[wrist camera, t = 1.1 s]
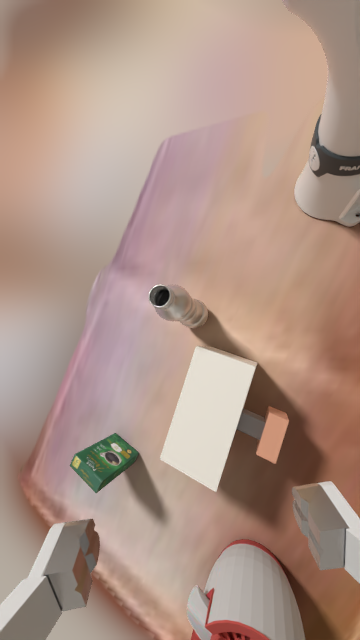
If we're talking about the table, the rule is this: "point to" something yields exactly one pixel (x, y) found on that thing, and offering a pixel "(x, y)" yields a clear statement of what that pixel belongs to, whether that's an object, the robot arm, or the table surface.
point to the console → (208, 414)
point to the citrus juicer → (245, 598)
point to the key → (265, 431)
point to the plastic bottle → (178, 305)
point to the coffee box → (103, 461)
